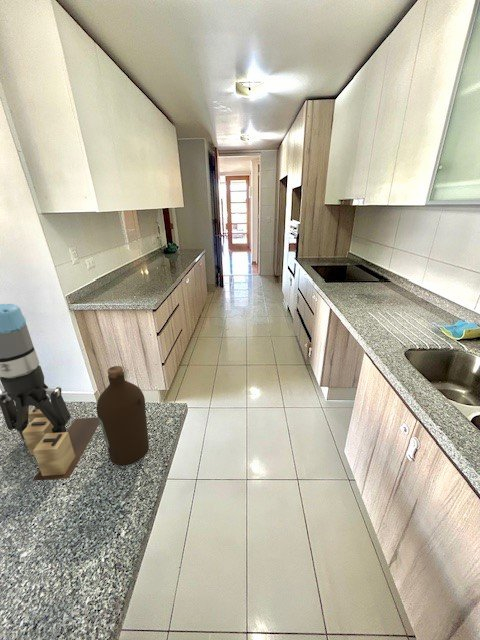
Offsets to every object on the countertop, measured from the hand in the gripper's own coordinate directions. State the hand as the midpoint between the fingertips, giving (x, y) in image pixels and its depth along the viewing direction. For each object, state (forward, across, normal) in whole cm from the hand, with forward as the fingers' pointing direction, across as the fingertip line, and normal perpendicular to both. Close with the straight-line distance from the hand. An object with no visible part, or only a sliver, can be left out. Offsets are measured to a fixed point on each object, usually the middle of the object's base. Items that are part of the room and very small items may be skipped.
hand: (48, 445), depth 68 cm
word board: (+1, +6, 0) cm, 6 cm away
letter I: (+1, -1, 0) cm, 1 cm away
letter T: (0, +6, -6) cm, 9 cm away
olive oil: (+2, +21, -3) cm, 22 cm away
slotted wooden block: (+1, -4, +7) cm, 8 cm away
